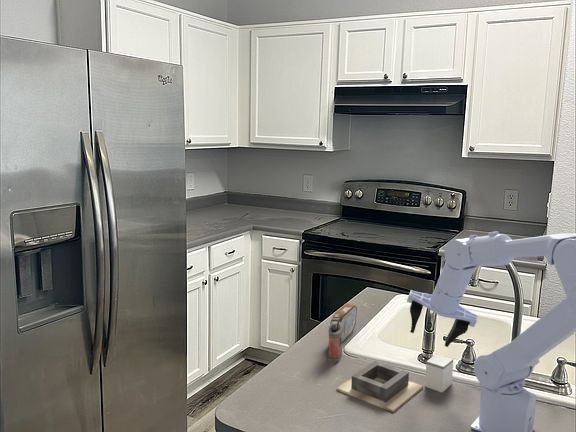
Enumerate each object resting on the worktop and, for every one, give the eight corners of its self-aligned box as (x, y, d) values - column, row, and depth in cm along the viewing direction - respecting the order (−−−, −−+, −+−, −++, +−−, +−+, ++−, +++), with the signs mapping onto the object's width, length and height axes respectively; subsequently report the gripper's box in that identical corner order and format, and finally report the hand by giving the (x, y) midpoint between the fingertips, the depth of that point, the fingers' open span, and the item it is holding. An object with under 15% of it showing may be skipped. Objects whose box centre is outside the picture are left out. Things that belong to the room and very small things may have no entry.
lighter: (340, 363, 130) (340, 324, 128) (326, 362, 130) (326, 323, 128) (343, 349, 137) (344, 312, 135) (330, 348, 138) (331, 311, 136)
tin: (347, 326, 152) (348, 298, 150) (358, 328, 151) (359, 300, 149) (327, 347, 139) (327, 316, 137) (338, 349, 138) (339, 318, 136)
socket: (423, 388, 118) (423, 373, 117) (393, 412, 108) (394, 396, 108) (368, 368, 127) (368, 354, 126) (336, 389, 117) (336, 375, 117)
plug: (451, 383, 120) (453, 358, 119) (442, 392, 116) (443, 366, 115) (435, 378, 123) (436, 353, 122) (425, 386, 119) (426, 361, 118)
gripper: (486, 291, 113) (463, 338, 119) (419, 266, 116) (401, 314, 123) (484, 310, 107) (460, 358, 114) (413, 283, 110) (395, 332, 117)
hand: (429, 336), depth 118 cm, fingers open, 7 cm apart
